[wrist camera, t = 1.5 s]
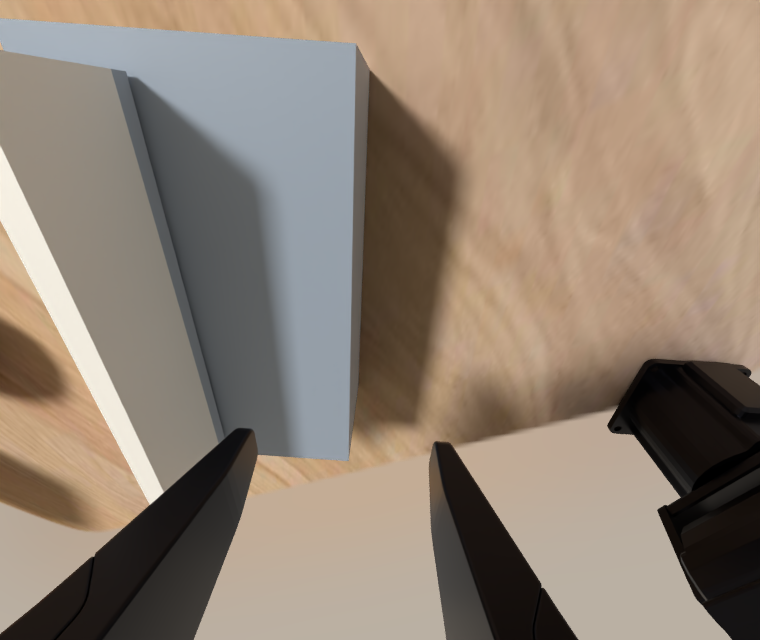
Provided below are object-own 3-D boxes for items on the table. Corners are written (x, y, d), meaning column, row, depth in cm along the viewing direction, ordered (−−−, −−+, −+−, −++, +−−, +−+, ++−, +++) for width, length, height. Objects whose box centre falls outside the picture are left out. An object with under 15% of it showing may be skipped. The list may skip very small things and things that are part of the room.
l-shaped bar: (226, 443, 18) (181, 530, 14) (164, 439, 18) (103, 525, 14) (125, 71, 10) (-49, 42, 6) (9, 63, 10) (-242, 28, 6)
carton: (358, 386, 24) (348, 461, 19) (216, 376, 24) (167, 448, 19) (369, 69, 14) (355, 43, 9) (135, 53, 14) (-10, 17, 9)
